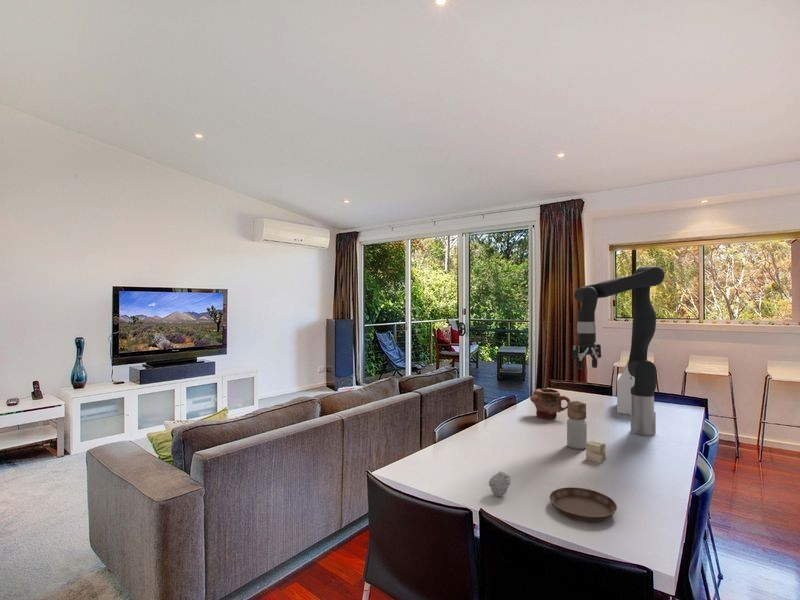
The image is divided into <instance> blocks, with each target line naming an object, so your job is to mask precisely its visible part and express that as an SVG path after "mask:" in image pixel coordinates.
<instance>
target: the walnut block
mask: <svg viewBox="0 0 800 600" xmlns="http://www.w3.org/2000/svg"><path fill="white" fill-rule="evenodd" d="M566 403H567V405H566V406H567V409H566V410H567V413H566V414H567V417H568V418H569V417H570V418H573V419H576V420H578V419H585V420H586V419H587V403H585V402H582V401H578V400H574V401H573V400H571V401H570V402H567V401H566Z"/></svg>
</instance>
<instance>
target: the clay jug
mask: <svg viewBox="0 0 800 600" xmlns="http://www.w3.org/2000/svg"><path fill="white" fill-rule="evenodd" d="M529 400H530V401H531V402H532V404H533V405H534V406H535V409H536V412H535V414H536V417H537V418H539V419H542V420H548V421H549V420H551V421H552V420H554V419H557V413H561V412H563V411H565V410H567V405H566V406H565V407H562V401H566V403H567V402H571V400H570V398H569V397H568V396H565V395H562V394H561V393H560V392H559V390H557V389H556V390H555V389H553V388H537V389H535V390H534V391H533V395H531V396H530V398H529Z"/></svg>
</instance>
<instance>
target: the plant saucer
mask: <svg viewBox="0 0 800 600" xmlns="http://www.w3.org/2000/svg"><path fill="white" fill-rule="evenodd" d="M549 501H550V502H551V504H552V506H553V507H554V508H555V509H556V511H558V512H559V513H560V515H562V516H565V517H567V518H569V519H571V520H573V521H577V522H582V523H589V524H590V523H591V524H595V523H597V524H598V523H603V522H605V521H608V520H609V519H610V518H612V517H613V515H615V513H616V512H617V510H618V505H617V503H616V502H615V501H614V499H612V498H611V497H610V496H608V495H606V494H604V493H602V492H599V491H596V490H593V489H589V488H583V487H574V486H573V487H571V486H570V487H569V486H568V487H561V488H557V489H555V490H552V492H551V493H550V494H549Z"/></svg>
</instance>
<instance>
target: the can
mask: <svg viewBox="0 0 800 600" xmlns="http://www.w3.org/2000/svg"><path fill="white" fill-rule="evenodd" d="M587 425H588V424H587V421H586V419H578V420H576V419H573V418H570V417H568V419H567V420H566V444H567V445H568V447H569V448H571V449H573V450H584V449H586V443H587V442H588V440H587V439H588V438H587V437H588V436H587V435H588V433H587V431H588V430H587V429H588V426H587Z"/></svg>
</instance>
